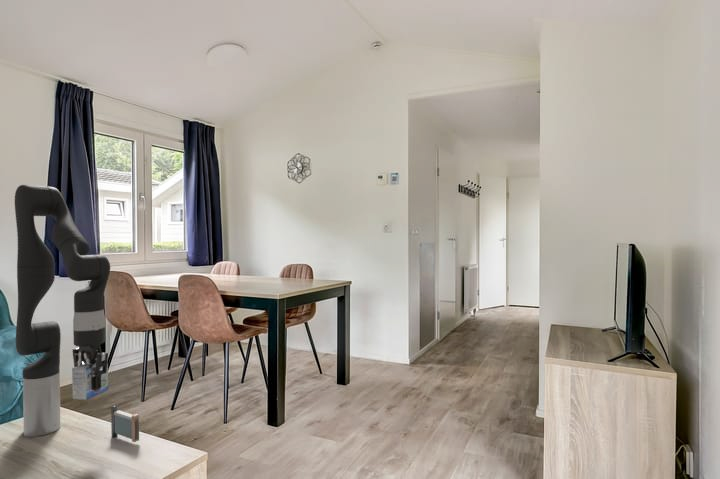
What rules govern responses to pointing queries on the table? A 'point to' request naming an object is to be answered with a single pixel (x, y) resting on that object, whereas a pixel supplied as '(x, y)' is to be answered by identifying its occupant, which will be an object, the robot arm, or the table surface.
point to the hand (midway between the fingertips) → (90, 387)
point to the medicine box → (86, 382)
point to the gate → (127, 425)
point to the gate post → (113, 421)
